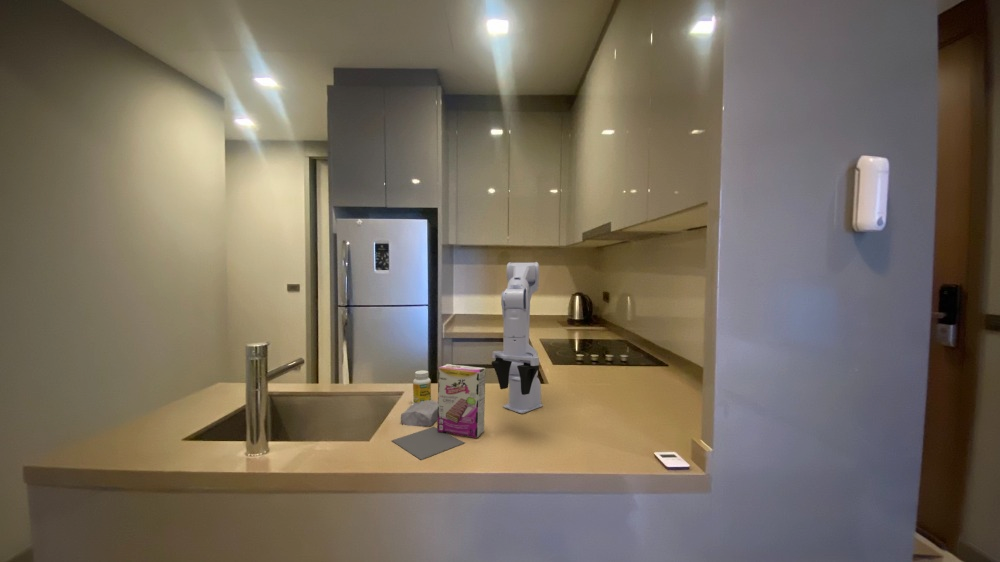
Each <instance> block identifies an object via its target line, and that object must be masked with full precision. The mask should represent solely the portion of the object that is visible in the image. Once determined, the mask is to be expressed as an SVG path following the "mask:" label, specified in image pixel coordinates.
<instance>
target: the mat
mask: <svg viewBox="0 0 1000 562" xmlns="http://www.w3.org/2000/svg"><path fill="white" fill-rule="evenodd" d="M391 442H392V443H394V444H396V445H397V446H399V447H400V448H402V449H403V450H405V451H406V452H408V453H409V454H411V455H412V456H414V457H415V458H417V459H418V460H420V461H423V460H425V459H427V458H430V457H432V456H433V457H434V456H435V455H438V454H441V453H444V452H446V451H449V450H451V449H455V448H456V447H459V446H462V445H464V444H466V442H464V441H463V440H461V439H459V438H457V437H455V436H453V435H452V434H450V433H444V432H438V431H437V426H436V427H435V426H431V427H428V428H426V429H423V430H420V431H416V432H413V433H410V434H407V435H404V436H400V437H398V438H395V439H392V440H391Z"/></svg>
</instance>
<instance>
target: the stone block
mask: <svg viewBox="0 0 1000 562" xmlns="http://www.w3.org/2000/svg"><path fill="white" fill-rule="evenodd" d="M437 420H438V400H432V399H431V400H426V401H421V402H417V403H414V402H413V404H412V405H410V406H409V407H407V409H406V410H405V411H403V412H402V413H401V414H400V421H401V423H402V425H404V426H409V427H426V428H427V427H428V428H431V427H433V426H434V424H435V423H436V422H437Z"/></svg>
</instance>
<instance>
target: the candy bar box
mask: <svg viewBox="0 0 1000 562" xmlns="http://www.w3.org/2000/svg"><path fill="white" fill-rule="evenodd" d="M437 371H438V372H437V373H438V378H437V380H438V383H437V385H438V386H437V401H438V420H437V421H436V422H437V424H436V425H437V426H436V428H437V431H438V432H444V433H447V434H449V435H456V436H461V437H462V436H463V437H469V438H476V439H478V438H479V437H480V436H481V435H482V434H483V433H484V432H485V409H486V408H485V407H486V405H485V402H486V401H485V400H486V367H477V366H470V365H463V364H462V365H461V364H459V365H458V364H453V363H451V364H450V363H446V364H444V365H441V366H439V367H438V370H437Z"/></svg>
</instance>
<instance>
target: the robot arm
mask: <svg viewBox="0 0 1000 562" xmlns="http://www.w3.org/2000/svg"><path fill="white" fill-rule="evenodd" d="M506 280H507V286H506V288H505V290H502V292H501V296H500V297H501V298H500V300H501V301H500V303H501V310H502V315H501V317H502V319H503V325H502V326H503V329H502V331H503V336H502V337H503V339H502V340H503V341H502V342H503V345H502V346H503V350H493V351H492V359H493V361H491V365H492V367H493V370H494V371H495V374H496V378H497V380H498V385H499V388H500V390H505V389H508V403H506V404H503V405H502V407H503V408H505V409H507V410H510V411H513V412H516V413H518V414H522V413H523V414H525V413H528V412H531V411H533V410H536V409H539V408H541V407H544V404H543V403H542V400H541V399H542V395H541V394H542V385H541V381H540V379H539V377H537V376H538V374H539V369H540V357H539V356H538V354H539V353H538V352H537V349H536V348H535V347H533V346H532V345H530V323H531V321H530V319H531V318H530V317H531V313H530V312H531V299H532V296H533V294H534V293H536V292H538V291H539V289H538V288H539V286H540V285H539V283H540V264H539V263H538V261H535V262H511V261H510V262H508V263H507V265H506ZM523 414H522V415H523Z"/></svg>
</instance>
